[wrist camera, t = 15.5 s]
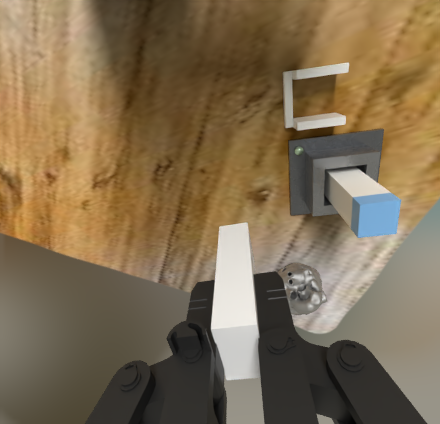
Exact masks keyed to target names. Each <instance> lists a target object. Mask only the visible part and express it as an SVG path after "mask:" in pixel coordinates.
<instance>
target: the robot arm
mask: <svg viewBox="0 0 440 424" xmlns="http://www.w3.org/2000/svg"><path fill="white" fill-rule="evenodd" d="M167 341H168V343H169V346H170V348H171V350H172V352H173V355H172V356H170V357H169V358H167V359H165V360H163V361H161V362H159V363H156V364H154V365H151V366H148V365H147V363H145V362H143V361H132V362H130V363H127V364H126V365H124V366H123V367H122V368H120V369H119V370H118V371H117V373H116V374H115V375H114V376H113V378H112V380H111V382H110V383H109V385H108V386H107V388H106V390H105V391H104V393H103V395H102V397H101V398H100V400H99V401H98V403H97V405H96V406H95V408H94V410H93V412H92V413H91V415H90V416H89V418H88V420H87V421H86V423H85V424H226V404H227V397H226V391H225V388H224V374H225V377H226V380H238V379H250V378H261V387H262V399H263V410H264V422H265V424H319V423H318V419H317V415H316V414H320V415H323V416H326V417H330V418H332V420H333V422H334V424H427V423H426V422H425V421H424V419H423V418H422V417H421V415H420V414H419V413H418V411H417V410H416V409H415V408H414V406H413V405H412V404H411V402H410V401H409V400H408V399H407V397H406V396H405V395H404V394H403V392H402V391H401V390H400V388H399V387H398V386H397V385H396V383H395V382H394V381H393V380H392V378H391V377H390V376H389V374H388V373H387V372H386V371H385V369H384V368H383V367H382V366H381V364H380V363H379V362H378V360H377V359H376V358H375V357H374V355H373V354H372V353H371V352H370V351H369V350H368V349H367V348H366V347H365V346H363V345H361V344H359V343H357V342H355V341H350V340H341V341H337V342H335V343H333V344H332V345H331V346H330V347H329V348H328V347H323V346H318V345H314V344H311V343H309V342H307V341H305V340H304V339H302V338H301V337H300V336H299V335H298V333H297V332H296V330H295V328H294V324H293V320H292V315H291V311H290V307H289V303H288V299H287V294H286V290H285V286H284V282H283V278H282V277H281V276H280V275H279V274H278V273H277V272H268V273H260V274H256V270H255V262H254V256H253V251H252V245H251V240H250V234H249V228H248V223H247V222H246V223H240V224H233V225H226V226H220V227H219V239H218V250H217V262H216V274H215V280H211V281H204V282H198V283H197V284H196V285H195V287H194V288H193V290H192V292H191V298H190V303H189V310H188V314H187V320H186V321H184V322H181V323H179V324H178V325H176V326H175V327H174V328H173V329H172V330H171V331H170V333H169V334H168V337H167Z"/></svg>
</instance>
